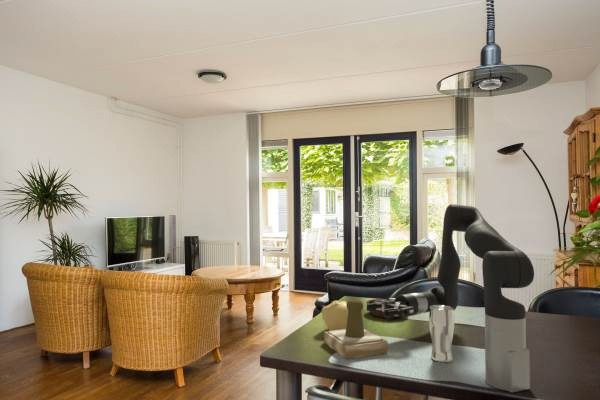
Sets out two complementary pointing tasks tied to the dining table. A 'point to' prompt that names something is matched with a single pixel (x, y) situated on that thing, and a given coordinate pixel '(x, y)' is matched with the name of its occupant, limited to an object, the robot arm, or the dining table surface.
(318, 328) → the dining table surface
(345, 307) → the sculpture
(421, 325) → the dining table surface
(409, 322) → the dining table surface
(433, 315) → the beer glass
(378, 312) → the dish
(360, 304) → the brown tall waisted piece
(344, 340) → the wooden stand
